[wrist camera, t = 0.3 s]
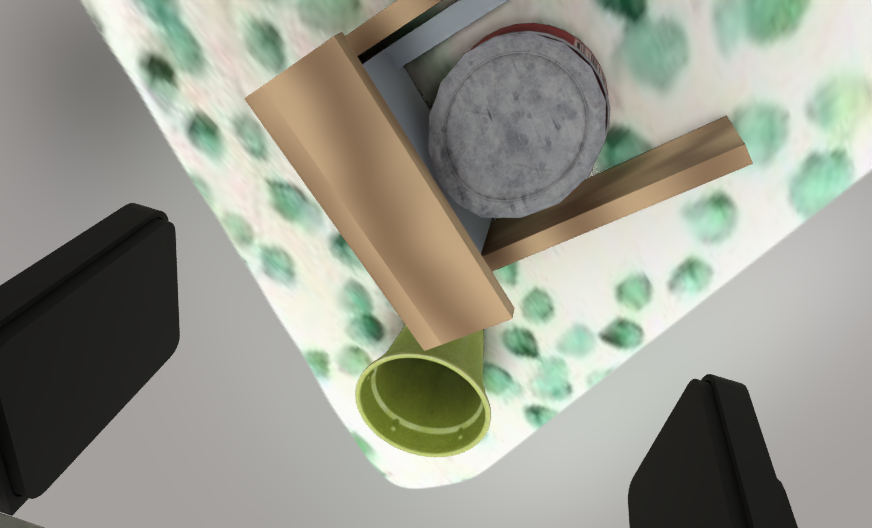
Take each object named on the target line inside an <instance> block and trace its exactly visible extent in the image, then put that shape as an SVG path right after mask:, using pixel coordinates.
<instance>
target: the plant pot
mask: <svg viewBox="0 0 872 528" xmlns="http://www.w3.org/2000/svg"><path fill="white" fill-rule="evenodd" d="M483 351H484V334H483V330H480V331H478V332H475V333H472V334H469V335H467V336H464V337H461V338H459V339H456V340H453V341H450V342H448V343H445V344H442V345H440V346H437V347H434V348H431V349H429V350H426V351H424V350H423V348H422V347H421V346H420V344H419V343H418V341H417V340H416V339H415V337H414V336H413V334H412V333H411V332H410V330H409V329H408V327H407V326H406V325H405V327H404V328H403V330H402V331H401V332H400V334H399V335H398V337H397V338H396V340H395V341H394V342H393V344H392V345H391V347H390V348H389V350H388V351H387V352H386V353H385V354H384V355H383V356H382V357H380V358H379V359H377V360H376V361H374V362H373V363H371V364H370V365H369V366H368V367H367V368H366V369H365V370H364V371H363V373H362V374H361V376H360V378H359V380H358V382H357V385H356V393H355V397H356V404H357V407H358V410H359V412H360V414H361V416H362V418H363V420H364V421H365V423H366V424H367V425H368V426H369V427H370V429H371V430H372V431H373V432H374V433H375V434H376V435H377V436H379V437H380V438H381V439H383V440H384V441H386V442H387V443H389V444H390V445H392V446H394V447H396V448H398V449H400V450H403V451H405V452H408V453H412V454H415V455H421V456H426V457H447V456H453V455H457V454H460V453H463V452H465V451H467V450H469V449H471V448H473V447H474V446H476V445H477V444H478V443H479V442H480V441H481V440H482V439H483V438H484V436H485V435H486V433H487V431H488V429H489V425H490V420H491V409H490V404H489V401H488V398H487V396H486V394H485V389H484V386H483Z"/></svg>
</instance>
